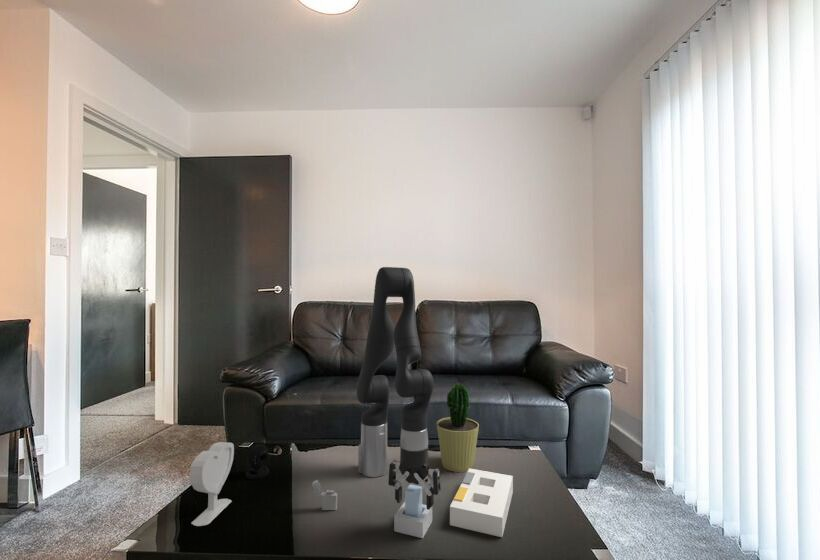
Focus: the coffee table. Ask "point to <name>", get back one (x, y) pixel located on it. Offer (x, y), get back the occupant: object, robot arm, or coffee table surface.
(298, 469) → the coffee table surface
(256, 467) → the webcam
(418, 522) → the holster
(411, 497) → the plug
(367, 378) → the robot arm
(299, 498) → the coffee table surface
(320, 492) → the lighter
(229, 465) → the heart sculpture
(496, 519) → the port panel
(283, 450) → the coffee table surface
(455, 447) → the potted cactus
